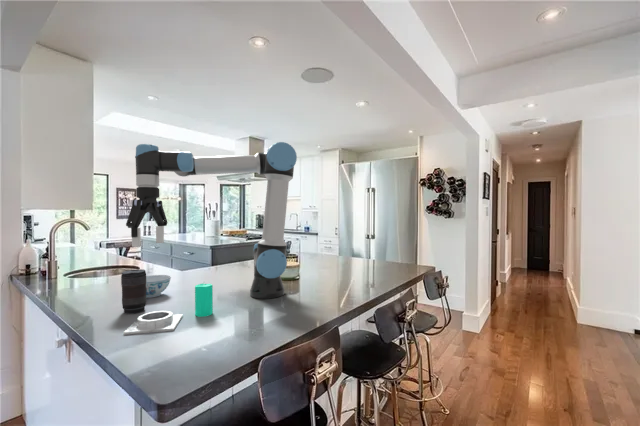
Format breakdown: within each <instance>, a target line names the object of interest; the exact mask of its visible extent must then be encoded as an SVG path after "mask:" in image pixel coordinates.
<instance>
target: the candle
mask: <svg viewBox="0 0 640 426" xmlns="http://www.w3.org/2000/svg"><path fill="white" fill-rule="evenodd" d="M213 288H214V287H213V284H212V283H204V282H203V283H198V284H196V285H195V287H194V311H195V314H194V315H195V316H196V317H198V318H199V317H200V318H201V317H203V318H204V317H208V316H211V315H213V312H214V311H213V308H214V305H213V304H214V303H213V297H214V295H213V291H214V290H213Z"/></svg>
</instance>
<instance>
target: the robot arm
mask: <svg viewBox="0 0 640 426" xmlns="http://www.w3.org/2000/svg"><path fill="white" fill-rule="evenodd" d="M134 158H135V177H136V178H135V185H136V189H135V194H136V198H138V199H132V201H131V204H132V205H131V208H130V210H129V211H130V212H129V214H128V217H127V221H126V223H125V226H126V227H127V228H128V229H130V231H131V232H130V233H131V234H130V237H131V247H132V248H139V247H141V246H142V245H141V244H142V243H141V242H142V241H141V240H142V239H141V235H142V234H141V227H140V225H141V223H142V222H143V219H144V218H145V215H146V214H148V213H149V214H151V216H152V218H153V220H154V221H155V223H156V226H155V243H156V244H163V243H165V238H164V237H165V227H167V224H168V220H167V216H166V213H165V210H164V208H163V207H164V206H163V201H162V200H157V199H158V198H160V188H159V187H160V172H171V173H172V172H173V173H175V174H176V175H177V176H179V177H189V176H198V175H199V176H200V175H201V176H202V175H220V174H221V175H222V174H223V175H224V174H225V175H226V174H248V173H249V174H250V173H257V174H258V175H264V177H265V178H266V179H267V183H266V192H265V193H266V194H265V202H264V203H265V204H264V216H263V224H262V225H263V226H262V235H261V239H260V240H259V241H257V243H255V244H254V245H253V249H252V251H253V280H252V283H251V286H250V288H249V289H250V290H249V293H250V295H249V296H250V297H251V298H253V299H262V300H264V299H274V298H275V299H276V298H280V297H282V296H284V295H285V287H284V283H283V280H282V277H281V276H282V275H283V274H284V272H285V271H286V269H287V265H288V261H287V260H288V259H287V257H286V255H287V243H286V242H285V240H284V236H285V225H286V215H287V204H288V197H289V196H288V195H289V186H290V185H289V184H290V183H289V182H290V181H291V180H293V179H294V169H295V165H296V163H297V160H298V159H297V158H298V157H297V152H296V150H295V148H294V147H293V146H292V145H291V144H289V143H287V142H286V141H285V142H284V141H277V142H275V143H273V144H271V145H270V146H269V147H268V149H267V151H264V152H256V154H254V155H253V154H252V155H251V154H250V155H249V154H247V155H244V154H243V155H242V154H241V155H215V156H213V155H212V156H209V155H207V156H194V155H193V153H192V152H190V151H181V150H180V151H170V150H168V151H167V150H166V151H165V150H160V149H159V147H158V145H156V144H149V143H139V144H137V145H136V147H135V155H134Z"/></svg>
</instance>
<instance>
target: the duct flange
mask: <svg viewBox="0 0 640 426" xmlns="http://www.w3.org/2000/svg"><path fill="white" fill-rule="evenodd" d="M183 317H184V315H183V313H181V314H178V313H177V314H174V313H173V312H172V311H169V310H158V311H151V312H146V313H144V314H141V315H139V316H138V317H137V318H136V320H134V322H132V324H130V326H128V327H127V328H126V329H125V330H124V331H123V332H122V333H123V336H126V335H127V336H129V335H140V334H151V333H163V332H175V330H176V328H177V326H178V325H179V323H180V321H181V320H182V318H183Z"/></svg>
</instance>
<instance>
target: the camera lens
mask: <svg viewBox="0 0 640 426" xmlns="http://www.w3.org/2000/svg"><path fill="white" fill-rule="evenodd" d="M146 276H147V271H146V270H145V269H141V268H140V269H139V268H138V269H130V270H125V271H122V272H121V276H120V284H121V285H120V286H121V304H122V306H121V307H122V309H123V313H124V314H129V315H130V314H131V315H132V314H139V313H142V312H144V311H145V309H146V308H145V307H146V305H147V297H146V291H147V288H146Z"/></svg>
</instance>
